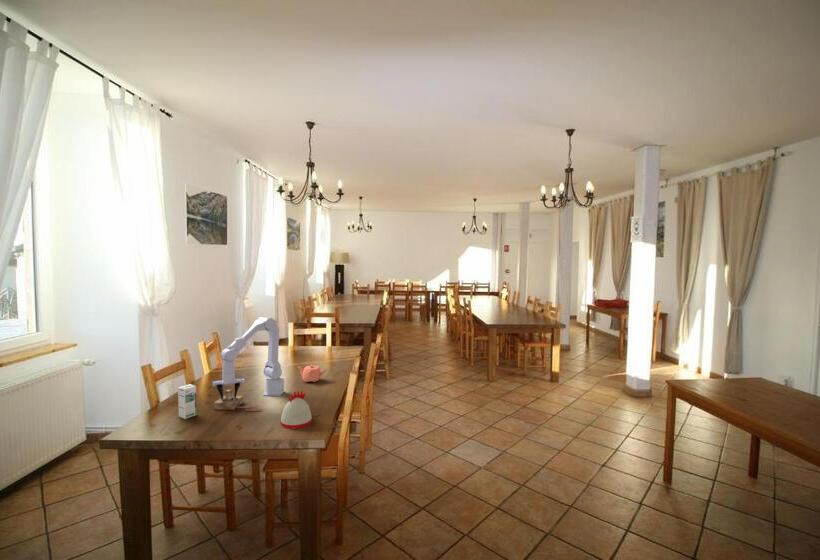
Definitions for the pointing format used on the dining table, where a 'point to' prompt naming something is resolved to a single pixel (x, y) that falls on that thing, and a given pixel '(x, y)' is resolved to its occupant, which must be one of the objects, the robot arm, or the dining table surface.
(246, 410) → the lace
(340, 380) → the dining table surface
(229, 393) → the tan round log
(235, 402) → the wooden square frame
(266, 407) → the dining table surface
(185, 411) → the syrup box
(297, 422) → the kitchen timer
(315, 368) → the teapot
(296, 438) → the dining table surface
